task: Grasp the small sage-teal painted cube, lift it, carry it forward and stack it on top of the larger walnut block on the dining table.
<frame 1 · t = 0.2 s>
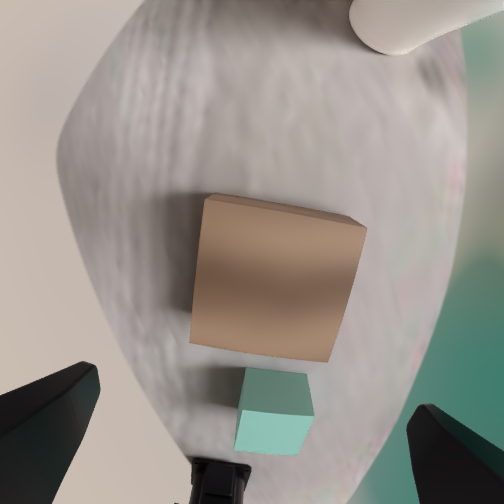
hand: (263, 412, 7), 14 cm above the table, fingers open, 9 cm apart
teal cube: (270, 392, 24), on the table
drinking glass: (380, 27, 16), on the table
walnut block: (271, 267, 21), on the table
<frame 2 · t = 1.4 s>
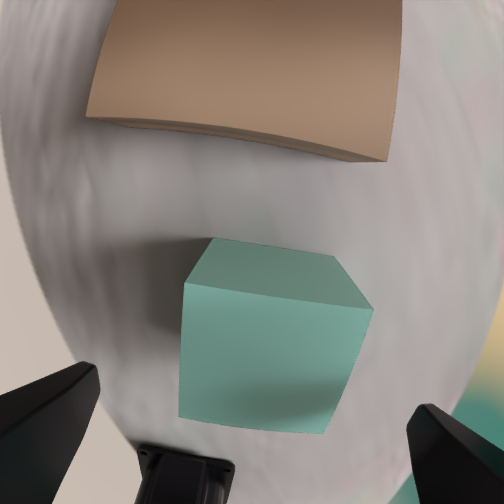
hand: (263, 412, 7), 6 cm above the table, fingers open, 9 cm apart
teal cube: (264, 302, 13), on the table
walnut block: (258, 40, 10), on the table
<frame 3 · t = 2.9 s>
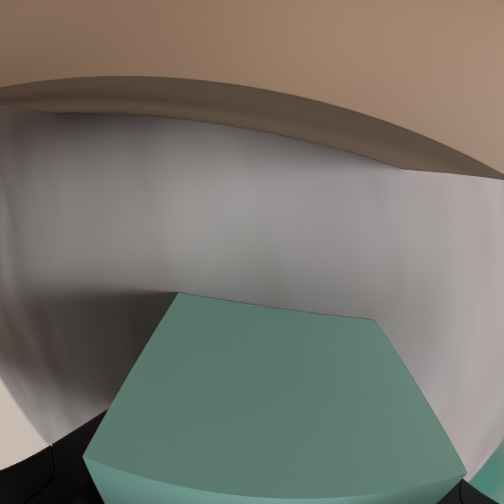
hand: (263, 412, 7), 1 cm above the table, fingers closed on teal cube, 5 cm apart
teal cube: (263, 386, 8), on the table, touching gripper
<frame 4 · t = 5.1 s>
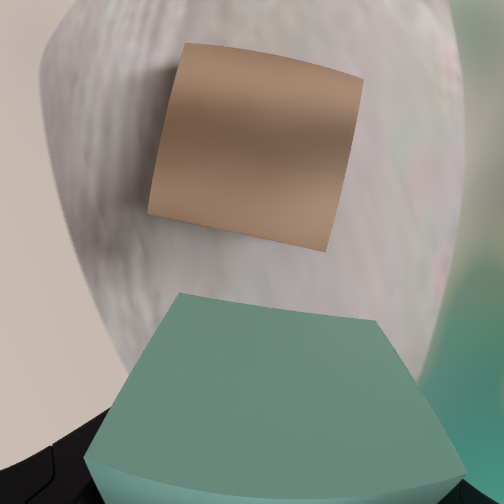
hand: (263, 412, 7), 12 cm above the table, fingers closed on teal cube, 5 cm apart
teal cube: (263, 386, 8), point 11 cm above the table, touching gripper
walnut block: (256, 146, 17), on the table
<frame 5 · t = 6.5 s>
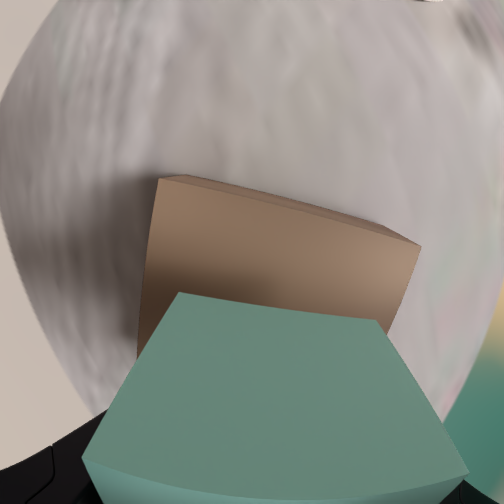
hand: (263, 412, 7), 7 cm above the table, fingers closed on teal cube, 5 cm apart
teal cube: (263, 386, 8), point 6 cm above the table, touching gripper
walnut block: (263, 292, 14), on the table
when the fingers open (6 cm above the table, at t = 7.4 s): teal cube drops 2 cm, point 4 cm above the table.
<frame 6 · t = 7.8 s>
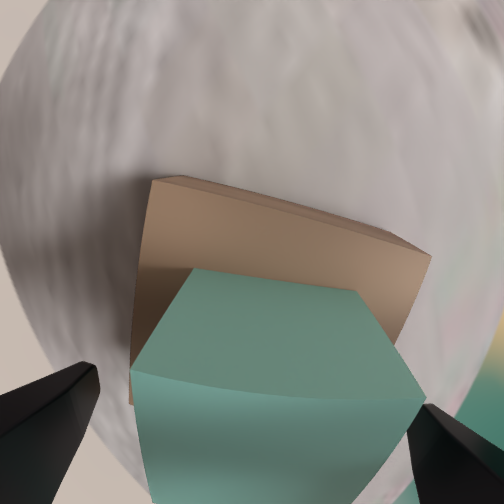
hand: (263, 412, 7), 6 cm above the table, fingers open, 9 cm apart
teal cube: (264, 350, 10), point 4 cm above the table
walnut block: (263, 299, 14), on the table
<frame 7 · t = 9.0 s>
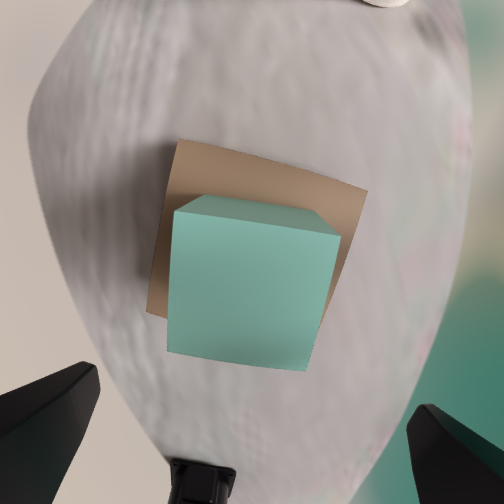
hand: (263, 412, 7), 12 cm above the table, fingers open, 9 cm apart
teal cube: (251, 254, 14), point 4 cm above the table, touching walnut block
walnut block: (251, 236, 18), on the table, touching teal cube
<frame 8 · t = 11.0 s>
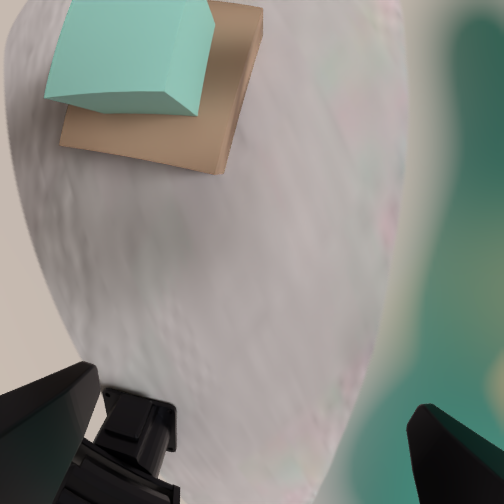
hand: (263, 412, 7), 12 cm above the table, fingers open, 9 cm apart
teal cube: (156, 66, 12), point 4 cm above the table
walnut block: (172, 88, 16), on the table
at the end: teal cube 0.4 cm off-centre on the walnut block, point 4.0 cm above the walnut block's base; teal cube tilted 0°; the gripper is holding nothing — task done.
